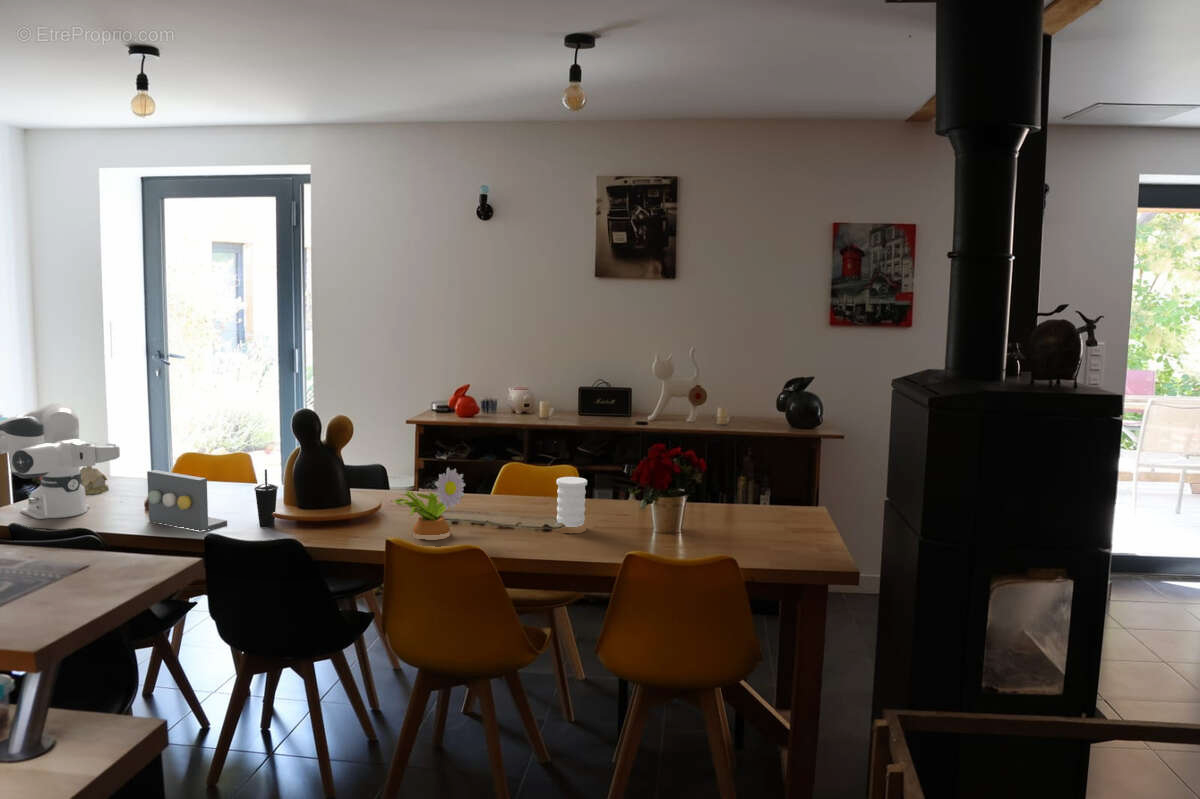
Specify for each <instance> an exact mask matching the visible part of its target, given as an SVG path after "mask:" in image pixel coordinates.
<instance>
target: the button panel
mask: <svg viewBox="0 0 1200 799" xmlns="http://www.w3.org/2000/svg"><path fill="white" fill-rule="evenodd" d="M146 475H147V477H146V478H147V479H146V480H147V495H148V494H149V492H151V491H155V490H159V491H160V492H161V494H162V501H161V502H160V503H156V504H152V503H151V502H150V501H149V499H147V500H148V502H147V504H148V522H149V521H150V522H149V523H151V522H156V523H162V524H167V525H172V526H177V527H184V528H189V529H194V530H199V531H202V530H208V529H211V530H214V529H213V528H215V529H218V528H220V527H224V525H225V526H228V520H226V519H221V518H216V517H209V513H208V512H209V510H208V509H209V507H208V506H209V504H208V503H209V501H208V478H206V477H201V476H193V475H188V474H181V473H176V472H170V471H164V470H158V469H153V470H152V469H151V470H147V472H146ZM168 493H174V494H175V495H176V498H177V500H178V498H179V497H181V496H185V495H187V496H189V497H190V498H191V501H192V504H191V507H190V508H187V509H180V508H179V507H178V504H177V502H176V504H175V505H173V506H169V507H167V506H165V505H164V503H163V496H164V495H165V494H168ZM156 523H155V524H156ZM217 527H218V528H217ZM208 531H209V530H208Z"/></svg>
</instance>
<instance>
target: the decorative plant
mask: <svg viewBox="0 0 1200 799" xmlns="http://www.w3.org/2000/svg"><path fill="white" fill-rule="evenodd" d="M445 471H446V472H444V473H442V474H441V473H439V474H438V477H439V478H438V481H435V482H434V484H435V486H436V487H437V491H436V492H435V493H432V492H431V491H430V492H429V495H428V494H423V493H417V494H416V495H415V494H414V493H413V491H412V490H411V491H410V490H406V493H403V494H402V495H404V496H406V497H408V498H409V499H410V500H411V501H409V500H408V499H404V498H398V499H395V500H390V502H391V503H395V504H397V505H398V506H404V505H407V506H408V507H409V508H411V511H410V514H409V517H410V516H412V515H413V514H415V513H417V514H418V515H419V516H418V518H417V519H418V520H417V522H416V523H415V525H414V526H413V529H412V533H413V532H414V533H415V534H419V535H440V534H445V533H448V532H449V531H450V532H451V530H450V525H449V524H448V523H447V521H446V519H445V517H444V516H443V515H442V514H443V513H444V512H445V511H446V510H447V509H448V508H450V507H451V509H453V510H454V509H455V506H456V505H457V504H459V505H461V500H462V499H463V497H464V496H465V493H464V492H463V491H464V487H466V483H465V482H464V479H463V477H464V473H460V474H459V473H458V472H457V469H456V468H454V469H450V467H447V468H446V470H445ZM418 497H420V498H423V499H427V500H428V502H427V505H426V504H425V503H424V502H423V500H422V499H420V498H418ZM438 497H439V503H438V499H437V498H438Z"/></svg>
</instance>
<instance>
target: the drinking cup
mask: <svg viewBox="0 0 1200 799" xmlns="http://www.w3.org/2000/svg"><path fill="white" fill-rule="evenodd" d="M253 489H254V491H255V492H254V493H255V499H256V508H257V517H258V525H259V527H260V528H262V527H269V528H271V527H270V526H273V527H274V526H275V523H276V521H275V520H276V516H275V517H274V516H272V515H271V514H272V513H273V512H275V513H276V509H277V496H278V495H277V494H278V490H279V487H278V486H277V485H274V484H272V483H268V469H266V468H265V469H264V483H262V484H259V485H257V486H255V487H254V488H253Z"/></svg>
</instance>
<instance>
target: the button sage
mask: <svg viewBox="0 0 1200 799" xmlns="http://www.w3.org/2000/svg"><path fill="white" fill-rule="evenodd" d="M147 498H148V499H149V501H150V502H151V503H152V504H156V503H160V502H161V501H162V494H161V492H160V491H159V490H155V491H151V492H149V494H148V493H147ZM148 499H147V500H148Z"/></svg>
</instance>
